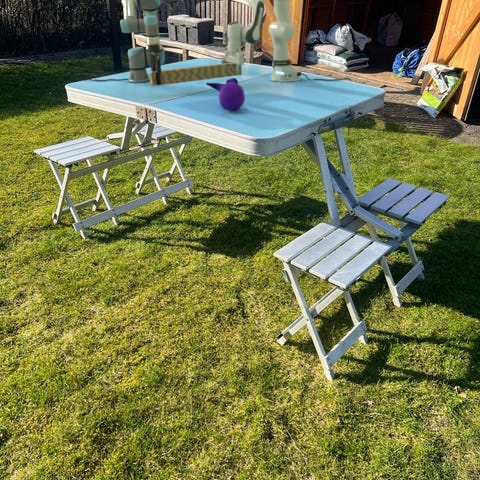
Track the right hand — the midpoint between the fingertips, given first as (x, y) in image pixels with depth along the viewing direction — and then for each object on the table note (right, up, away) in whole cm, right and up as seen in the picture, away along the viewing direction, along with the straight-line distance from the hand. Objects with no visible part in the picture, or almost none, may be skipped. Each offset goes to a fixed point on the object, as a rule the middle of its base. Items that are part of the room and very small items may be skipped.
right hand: (234, 70), depth 308 cm
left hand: (-49, -17, -22) cm, 56 cm away
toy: (-4, -39, -44) cm, 59 cm away
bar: (-25, -10, -10) cm, 28 cm away
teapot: (-2, +25, +65) cm, 69 cm away
